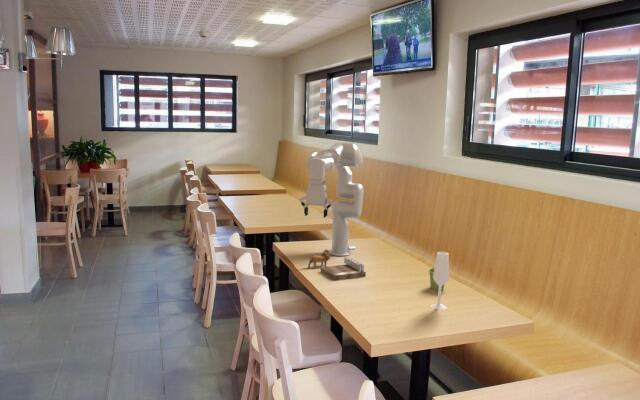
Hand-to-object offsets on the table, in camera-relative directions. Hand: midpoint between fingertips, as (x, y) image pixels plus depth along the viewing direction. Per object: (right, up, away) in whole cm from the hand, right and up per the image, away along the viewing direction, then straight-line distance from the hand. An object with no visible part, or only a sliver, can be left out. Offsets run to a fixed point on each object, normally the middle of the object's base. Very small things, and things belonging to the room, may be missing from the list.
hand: (315, 216), depth 257 cm
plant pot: (+59, -35, -12) cm, 69 cm away
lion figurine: (+2, -28, +16) cm, 32 cm away
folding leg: (+20, -27, +8) cm, 34 cm away
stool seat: (+14, -30, +5) cm, 33 cm away
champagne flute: (+53, -38, -37) cm, 75 cm away
